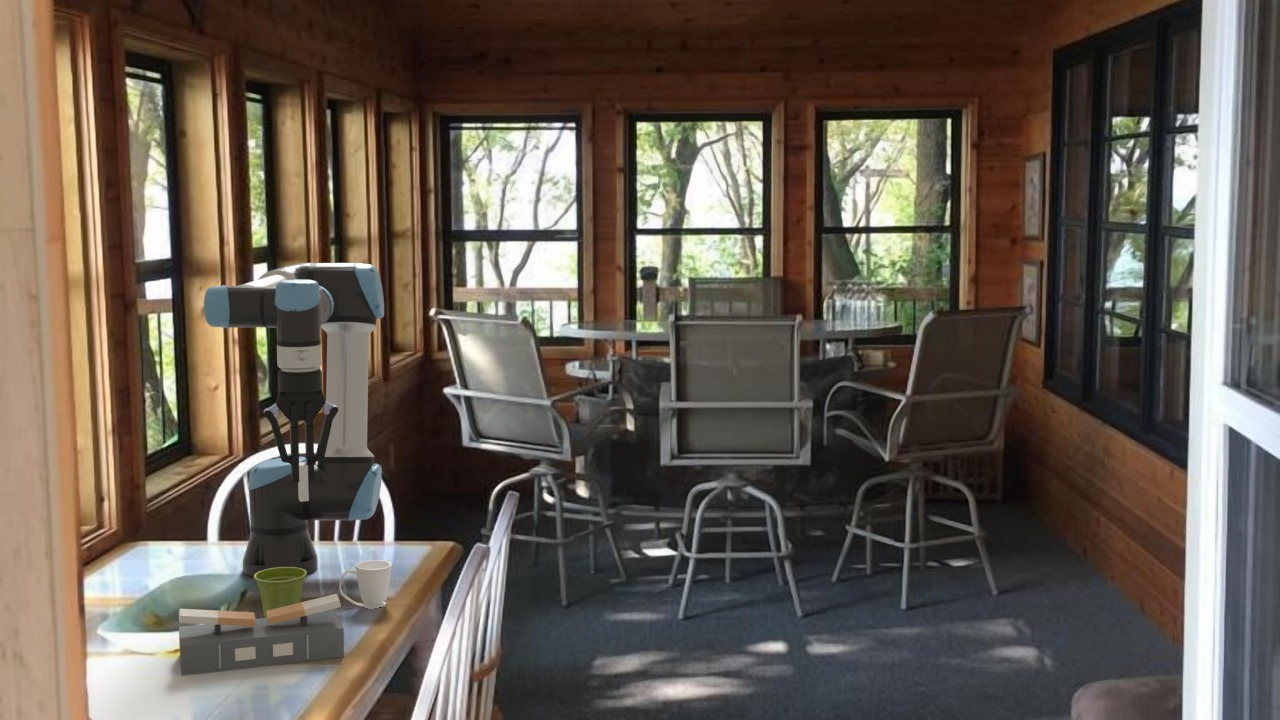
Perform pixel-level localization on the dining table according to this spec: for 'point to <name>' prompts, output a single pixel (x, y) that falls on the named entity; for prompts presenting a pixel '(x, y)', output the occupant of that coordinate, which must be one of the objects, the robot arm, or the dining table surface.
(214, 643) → the switch unit
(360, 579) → the cup
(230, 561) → the dining table surface
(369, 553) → the dining table surface
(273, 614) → the rocker
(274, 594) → the plant pot
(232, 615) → the rocker
